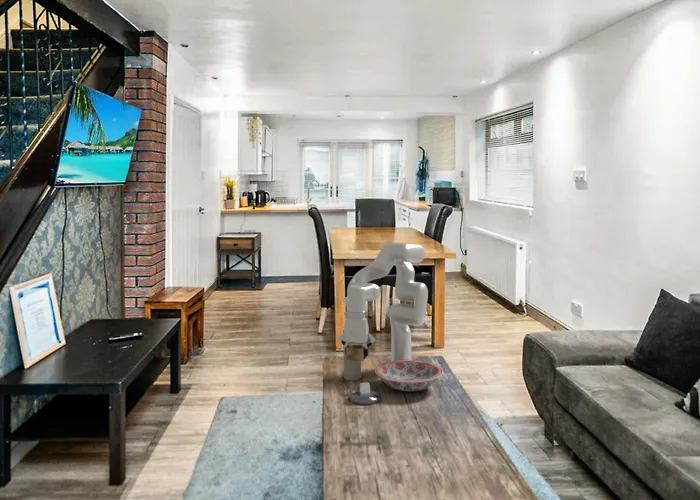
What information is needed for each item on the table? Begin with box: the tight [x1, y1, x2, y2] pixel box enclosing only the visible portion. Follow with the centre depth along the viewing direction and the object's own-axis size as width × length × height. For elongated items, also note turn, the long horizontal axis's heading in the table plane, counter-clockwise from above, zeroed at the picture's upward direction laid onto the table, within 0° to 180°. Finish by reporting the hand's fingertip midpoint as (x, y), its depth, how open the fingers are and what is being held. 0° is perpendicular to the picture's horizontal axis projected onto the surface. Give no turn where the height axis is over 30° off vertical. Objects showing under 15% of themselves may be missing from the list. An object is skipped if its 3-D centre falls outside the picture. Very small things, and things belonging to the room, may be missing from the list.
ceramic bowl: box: [374, 359, 444, 392], centre depth 244 cm, size 29×29×8 cm
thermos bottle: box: [342, 329, 362, 381], centre depth 257 cm, size 8×8×28 cm
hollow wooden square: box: [346, 344, 366, 362], centre depth 237 cm, size 7×7×5 cm
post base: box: [349, 382, 381, 406], centre depth 231 cm, size 12×12×6 cm
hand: (356, 356), depth 237 cm, fingers closed on hollow wooden square, 7 cm apart
